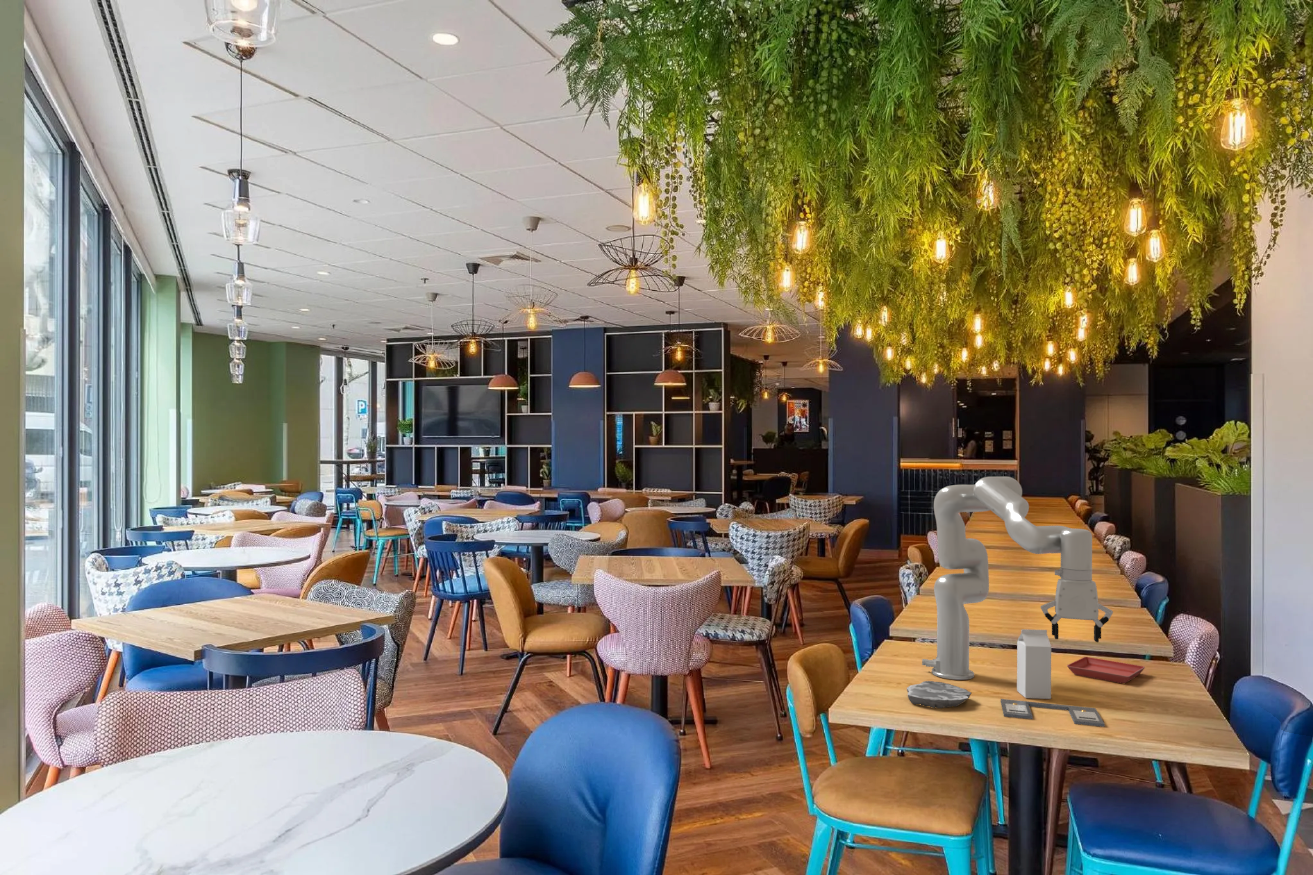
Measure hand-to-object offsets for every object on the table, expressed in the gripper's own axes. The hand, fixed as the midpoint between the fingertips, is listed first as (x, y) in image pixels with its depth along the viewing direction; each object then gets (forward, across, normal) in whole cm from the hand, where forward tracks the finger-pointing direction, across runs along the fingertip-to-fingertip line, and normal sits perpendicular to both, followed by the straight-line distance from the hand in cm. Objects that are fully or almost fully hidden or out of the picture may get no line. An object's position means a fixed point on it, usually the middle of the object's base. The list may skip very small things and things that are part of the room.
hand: (1076, 639), depth 226 cm
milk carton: (+21, -9, +18) cm, 29 cm away
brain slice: (+21, -35, +3) cm, 41 cm away
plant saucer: (+21, +15, +51) cm, 57 cm away
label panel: (+21, -6, 0) cm, 22 cm away
